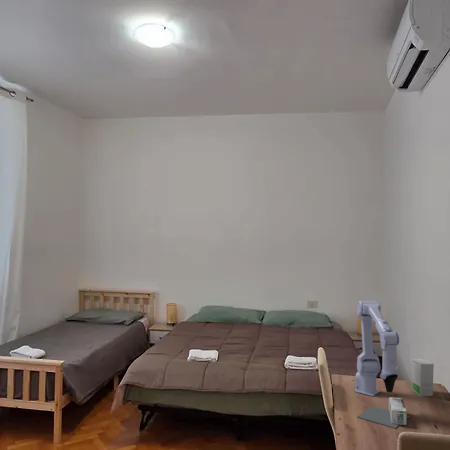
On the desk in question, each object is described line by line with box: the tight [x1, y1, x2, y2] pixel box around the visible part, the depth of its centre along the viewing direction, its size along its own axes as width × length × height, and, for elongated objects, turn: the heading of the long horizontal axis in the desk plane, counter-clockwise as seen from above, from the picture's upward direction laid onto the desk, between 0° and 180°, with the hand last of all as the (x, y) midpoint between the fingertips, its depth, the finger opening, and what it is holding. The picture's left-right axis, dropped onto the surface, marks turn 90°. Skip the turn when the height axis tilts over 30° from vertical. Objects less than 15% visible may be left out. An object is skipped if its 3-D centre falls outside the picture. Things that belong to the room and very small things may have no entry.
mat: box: [356, 405, 410, 429], centre depth 190 cm, size 16×15×1 cm
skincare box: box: [411, 357, 435, 397], centre depth 217 cm, size 8×7×16 cm
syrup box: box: [388, 396, 407, 426], centre depth 188 cm, size 6×6×14 cm
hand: (389, 391), depth 194 cm, fingers closed
